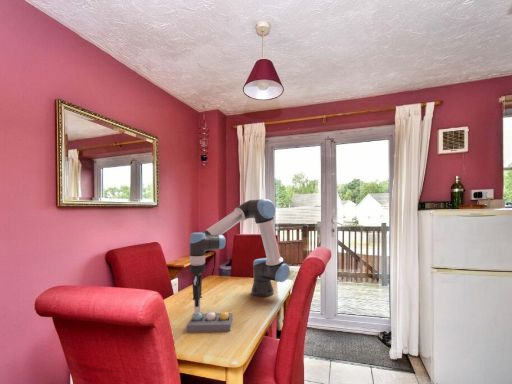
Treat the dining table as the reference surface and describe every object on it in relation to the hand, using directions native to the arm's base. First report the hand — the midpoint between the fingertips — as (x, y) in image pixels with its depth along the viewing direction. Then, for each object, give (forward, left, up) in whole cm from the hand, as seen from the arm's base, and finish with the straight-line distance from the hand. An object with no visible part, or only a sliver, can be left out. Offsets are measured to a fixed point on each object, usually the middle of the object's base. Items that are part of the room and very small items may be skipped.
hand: (197, 312), depth 131 cm
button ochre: (-13, 0, -4) cm, 14 cm away
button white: (-7, 0, -4) cm, 7 cm away
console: (-7, 0, -6) cm, 9 cm away
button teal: (0, 0, -4) cm, 4 cm away
